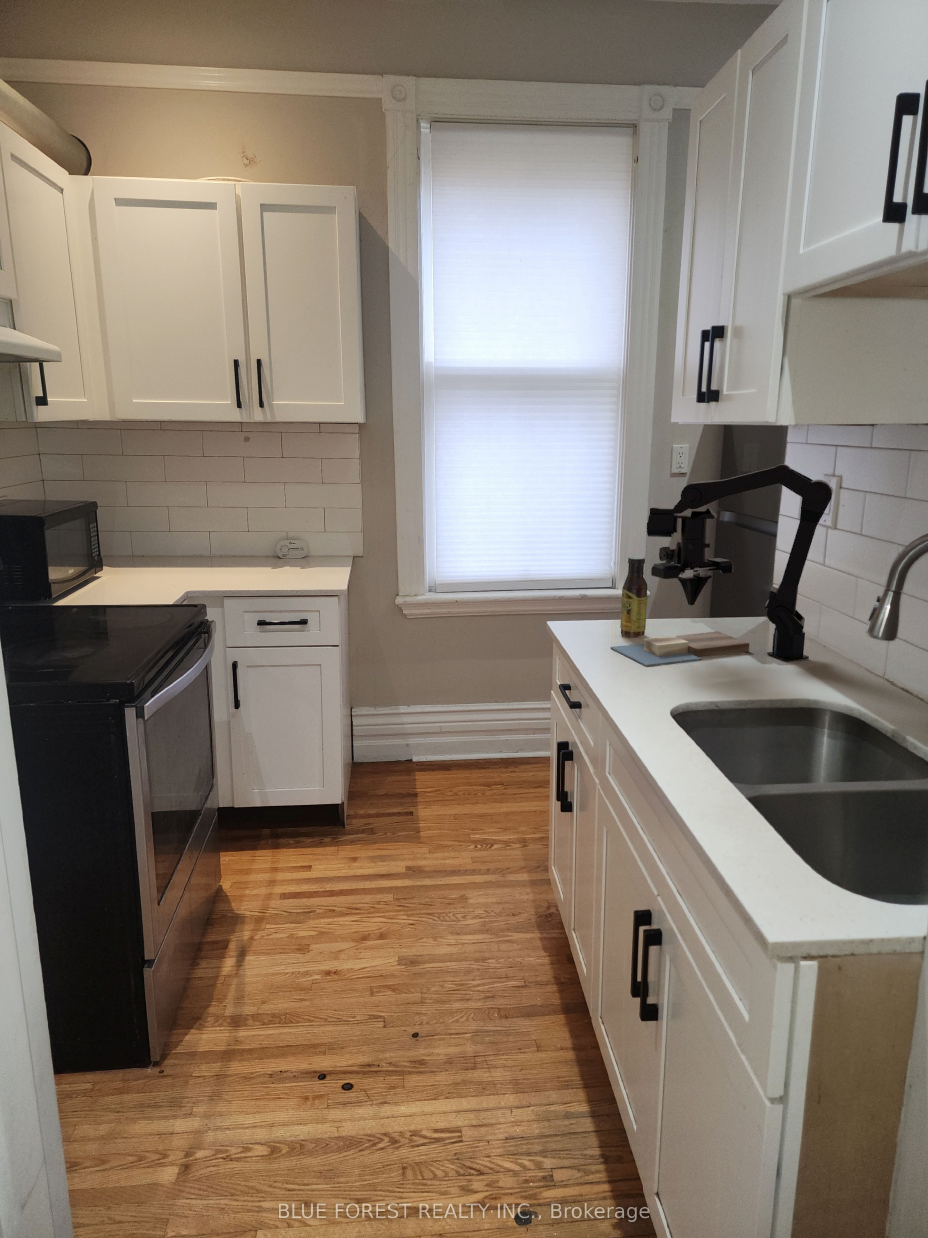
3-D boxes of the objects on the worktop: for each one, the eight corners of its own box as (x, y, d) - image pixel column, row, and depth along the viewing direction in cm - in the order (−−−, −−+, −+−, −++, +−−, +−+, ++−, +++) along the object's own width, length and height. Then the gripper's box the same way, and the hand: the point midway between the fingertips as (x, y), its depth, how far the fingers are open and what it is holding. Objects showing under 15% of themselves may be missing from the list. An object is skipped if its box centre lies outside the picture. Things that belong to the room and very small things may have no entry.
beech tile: (688, 652, 186) (688, 641, 185) (657, 656, 183) (657, 645, 183) (673, 646, 191) (673, 635, 191) (643, 649, 189) (644, 639, 188)
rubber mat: (701, 660, 181) (701, 658, 181) (645, 666, 177) (645, 664, 177) (662, 642, 196) (662, 641, 196) (610, 648, 191) (610, 646, 191)
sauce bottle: (616, 633, 206) (618, 555, 201) (639, 631, 207) (642, 554, 202) (626, 639, 200) (628, 559, 195) (649, 637, 201) (652, 558, 196)
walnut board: (748, 651, 187) (749, 643, 187) (696, 657, 183) (697, 649, 182) (717, 639, 198) (717, 631, 198) (667, 644, 194) (667, 636, 193)
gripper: (706, 531, 195) (703, 595, 199) (639, 536, 189) (637, 602, 193) (736, 536, 185) (732, 603, 189) (666, 542, 179) (664, 611, 182)
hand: (691, 604), depth 188 cm, fingers closed
